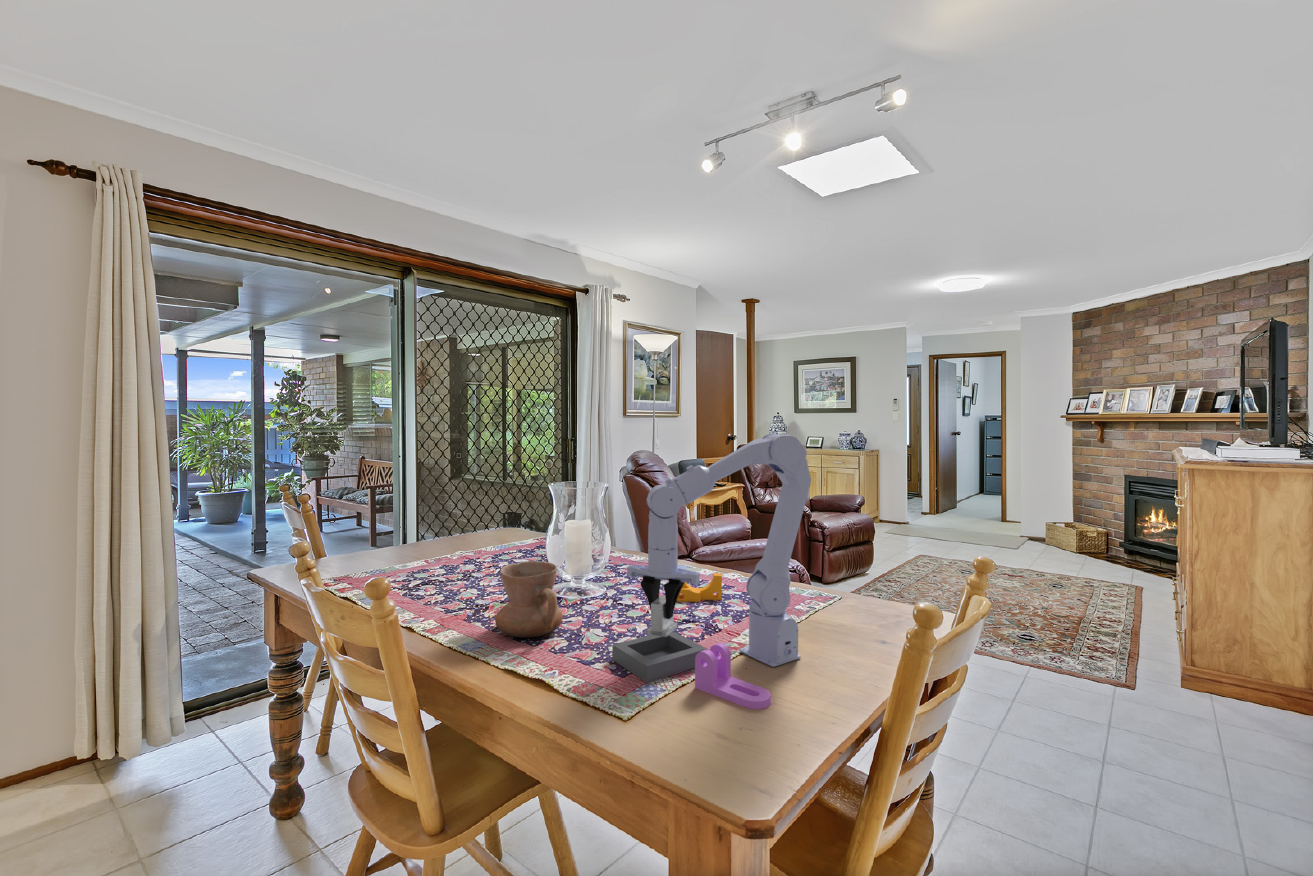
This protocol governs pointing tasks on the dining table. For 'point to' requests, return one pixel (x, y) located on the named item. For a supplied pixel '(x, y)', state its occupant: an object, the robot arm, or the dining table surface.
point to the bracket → (726, 679)
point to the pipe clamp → (702, 591)
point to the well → (656, 655)
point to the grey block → (660, 619)
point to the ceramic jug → (529, 600)
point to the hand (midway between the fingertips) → (662, 616)
